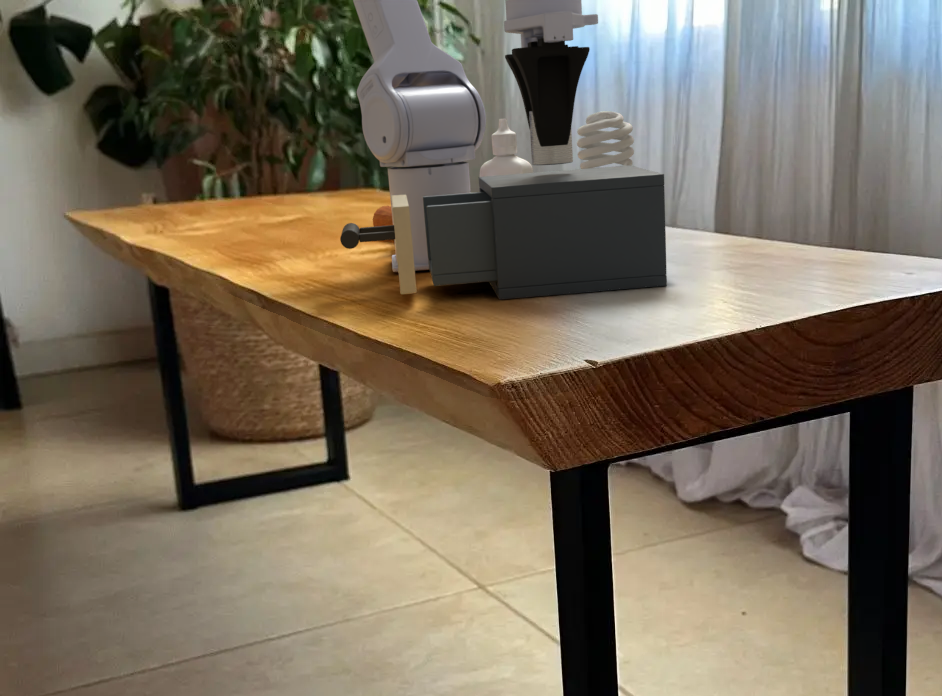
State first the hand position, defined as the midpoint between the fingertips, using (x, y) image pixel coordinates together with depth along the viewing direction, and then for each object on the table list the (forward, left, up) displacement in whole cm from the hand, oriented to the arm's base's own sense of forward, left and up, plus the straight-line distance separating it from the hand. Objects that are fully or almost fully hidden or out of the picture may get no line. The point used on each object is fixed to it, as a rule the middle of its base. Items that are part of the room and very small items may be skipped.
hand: (550, 144), depth 95 cm
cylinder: (0, 0, -1) cm, 1 cm away
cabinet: (+2, +1, -10) cm, 11 cm away
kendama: (-33, -11, -11) cm, 37 cm away
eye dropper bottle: (-26, -1, -10) cm, 28 cm away
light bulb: (-26, +9, -11) cm, 30 cm away
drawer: (+2, -9, -9) cm, 13 cm away
